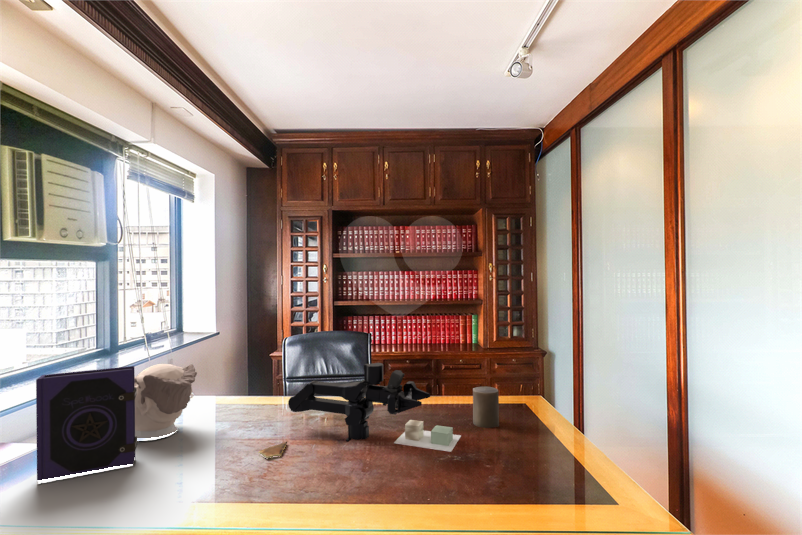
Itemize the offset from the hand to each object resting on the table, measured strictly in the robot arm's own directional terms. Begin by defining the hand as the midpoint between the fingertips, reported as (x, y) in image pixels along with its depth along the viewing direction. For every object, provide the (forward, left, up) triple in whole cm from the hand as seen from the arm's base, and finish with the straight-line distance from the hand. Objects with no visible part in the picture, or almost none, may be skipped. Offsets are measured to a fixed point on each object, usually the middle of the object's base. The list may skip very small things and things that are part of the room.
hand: (425, 399), depth 139 cm
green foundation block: (+4, +6, -16) cm, 17 cm away
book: (-90, -49, -17) cm, 104 cm away
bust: (-95, -21, -17) cm, 99 cm away
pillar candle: (+15, +28, -17) cm, 36 cm away
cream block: (-6, +6, -16) cm, 18 cm away
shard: (-47, -19, -17) cm, 54 cm away
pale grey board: (-1, +6, -17) cm, 18 cm away
